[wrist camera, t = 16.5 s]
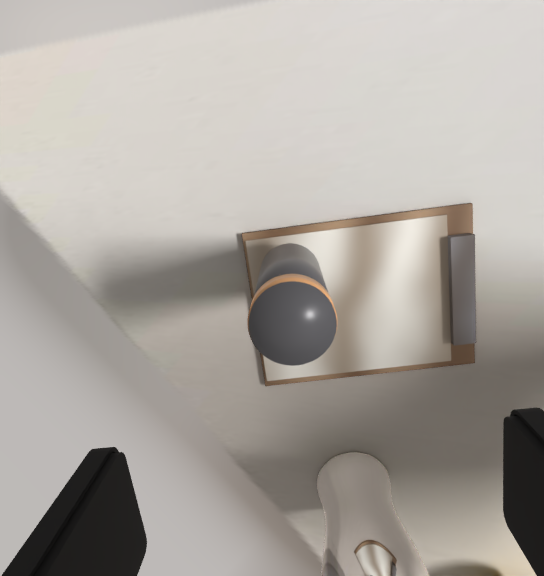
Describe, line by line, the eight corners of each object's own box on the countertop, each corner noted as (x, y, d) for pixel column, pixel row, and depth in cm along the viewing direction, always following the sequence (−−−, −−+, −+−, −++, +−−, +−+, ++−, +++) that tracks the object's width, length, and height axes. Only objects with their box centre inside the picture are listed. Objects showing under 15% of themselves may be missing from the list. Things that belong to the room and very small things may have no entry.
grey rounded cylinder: (315, 233, 31) (332, 275, 19) (321, 289, 32) (342, 361, 20) (257, 241, 31) (240, 287, 20) (265, 297, 32) (254, 371, 21)
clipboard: (469, 203, 31) (477, 204, 29) (472, 360, 34) (479, 367, 33) (242, 233, 32) (240, 235, 30) (265, 383, 35) (265, 391, 34)
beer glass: (299, 461, 37) (309, 655, 22) (380, 436, 36) (445, 620, 21) (327, 525, 38) (353, 744, 24) (404, 502, 38) (480, 715, 23)
